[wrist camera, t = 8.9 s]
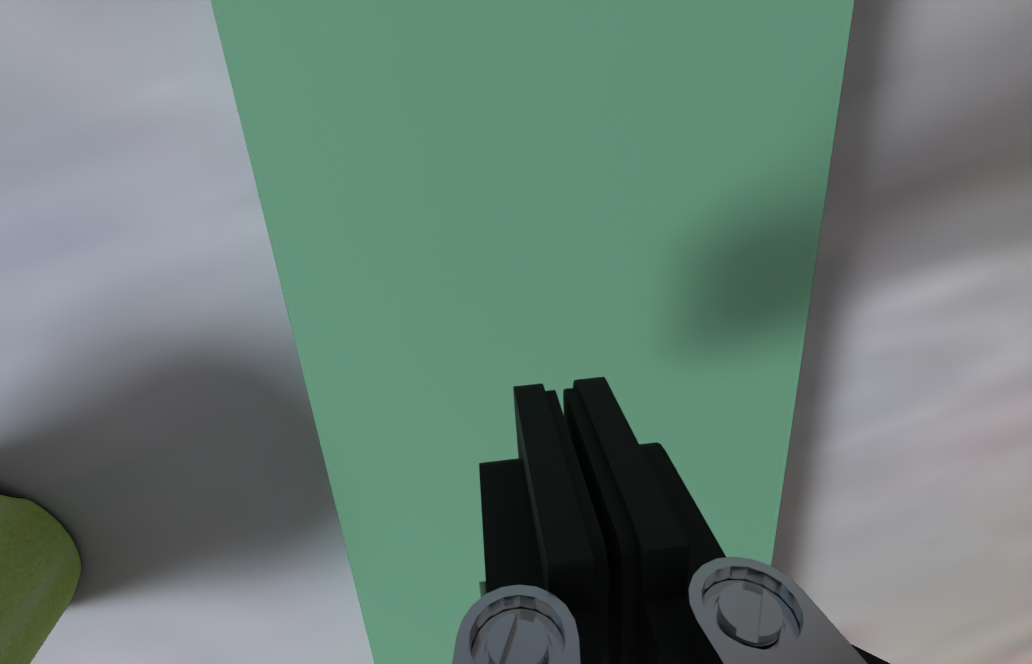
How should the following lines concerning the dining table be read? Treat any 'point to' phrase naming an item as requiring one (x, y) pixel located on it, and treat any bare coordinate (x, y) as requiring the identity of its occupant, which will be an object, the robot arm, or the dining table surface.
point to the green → (535, 249)
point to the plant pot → (32, 577)
